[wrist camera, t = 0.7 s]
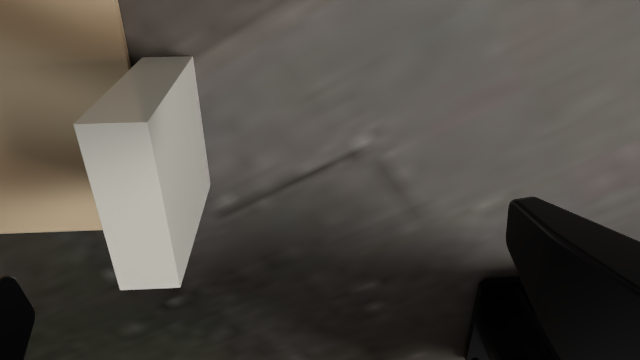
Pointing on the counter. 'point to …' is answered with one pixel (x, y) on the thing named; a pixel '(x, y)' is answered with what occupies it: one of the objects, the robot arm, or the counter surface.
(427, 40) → the counter surface
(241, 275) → the counter surface
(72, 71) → the cork mat
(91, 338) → the counter surface
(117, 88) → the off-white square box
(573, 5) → the counter surface
